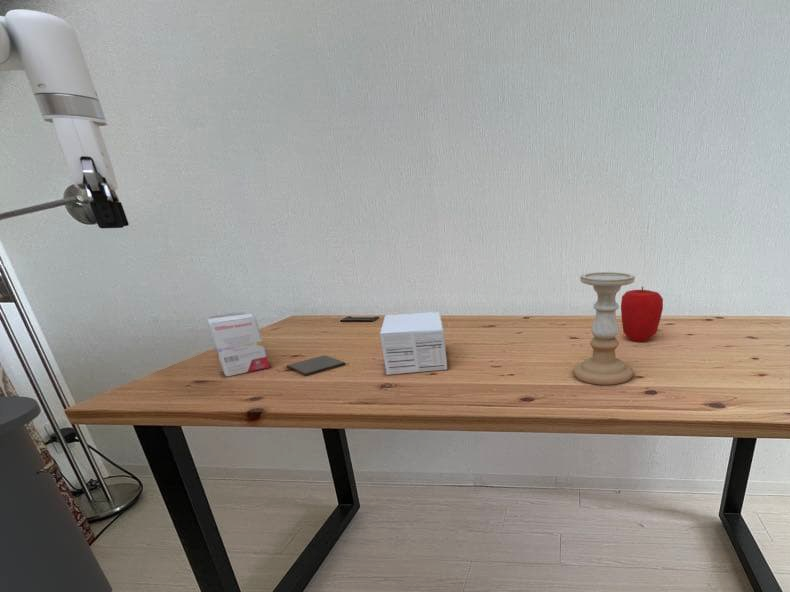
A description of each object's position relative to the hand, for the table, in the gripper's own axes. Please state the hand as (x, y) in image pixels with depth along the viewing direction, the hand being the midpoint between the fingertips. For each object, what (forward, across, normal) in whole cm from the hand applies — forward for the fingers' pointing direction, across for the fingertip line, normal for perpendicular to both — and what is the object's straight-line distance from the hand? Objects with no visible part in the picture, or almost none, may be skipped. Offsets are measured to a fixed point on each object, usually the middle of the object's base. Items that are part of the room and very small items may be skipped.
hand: (115, 227), depth 80 cm
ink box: (+31, -3, +13) cm, 33 cm away
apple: (+31, +34, +99) cm, 109 cm away
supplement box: (+31, +15, +46) cm, 57 cm away
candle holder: (+31, +48, +73) cm, 93 cm away
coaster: (+30, +4, +26) cm, 40 cm away
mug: (+31, -13, +13) cm, 36 cm away
